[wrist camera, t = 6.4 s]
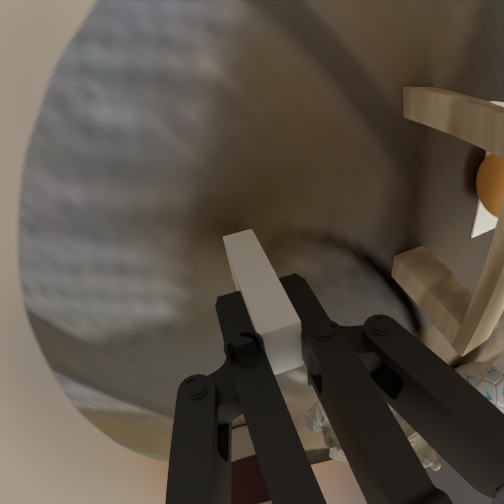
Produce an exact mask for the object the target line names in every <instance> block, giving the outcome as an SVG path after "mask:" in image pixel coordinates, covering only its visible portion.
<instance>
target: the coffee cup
mask: <svg viewBox="0 0 504 504" xmlns="http://www.w3.org/2000/svg"><path fill="white" fill-rule="evenodd" d="M231 504H272V501H271V498H270V496H269V493H268V490H267V487H266V484H265V481H264V478H263V475H262V472H261V469H260V466H259V462H258V459H257V456H256V453H255V450H254V447H253V444H252V440H251V437H250V434H249V431H248V427H247V425H244V426H240V427H237V428H234V429H232V446H231Z"/></svg>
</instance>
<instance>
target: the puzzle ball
mask: <svg viewBox="0 0 504 504" xmlns="http://www.w3.org/2000/svg"><path fill="white" fill-rule="evenodd" d="M454 370H455V371H456V372H457V373H458V374H460V375H461V376H462V377H463V378H464V379H465V380H466V381H468V382H469V383H470V384H471V385H472V386H473V387H475V388H476V389H477V390H478V391H479V392H480V393H481V394H482V395H484V396H485V397H486V398H487V399H488V400H489V401H490V402H491V403H493V404H494V405H495V406H496V407H497V408H498V409H499V410H500V411H502V412H503V413H504V374H502V373H501V371H500V370H499V369H498V368H497V367H495V366H493V365H491V364H489V363H487V362H471V363H467V364H464V365H461V366H459V367H457V368H455V369H454Z"/></svg>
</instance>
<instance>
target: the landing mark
mask: <svg viewBox="0 0 504 504" xmlns="http://www.w3.org/2000/svg"><path fill="white" fill-rule="evenodd" d="M489 102H491V103H494V104H497V105H500V106H503V107H504V102H499V101H489ZM490 154H492V153H491V152H488V151H486V153H485V158H486V157H487V156H489V155H490ZM497 220H498V218H497V217H495V216H493V215H492V214H490V213H489V212H488V211H487V210H486V209H485V208H484V206H483V205H482V203H481V201H480V199H478V204H477V209H476V214H475V219H474V223H473V227H472V232H471V236H470V238H473V237H476V236H478V235H480V234H482V233H485V232H487V231H489V230H491V229H493V228H496V224H497Z"/></svg>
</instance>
